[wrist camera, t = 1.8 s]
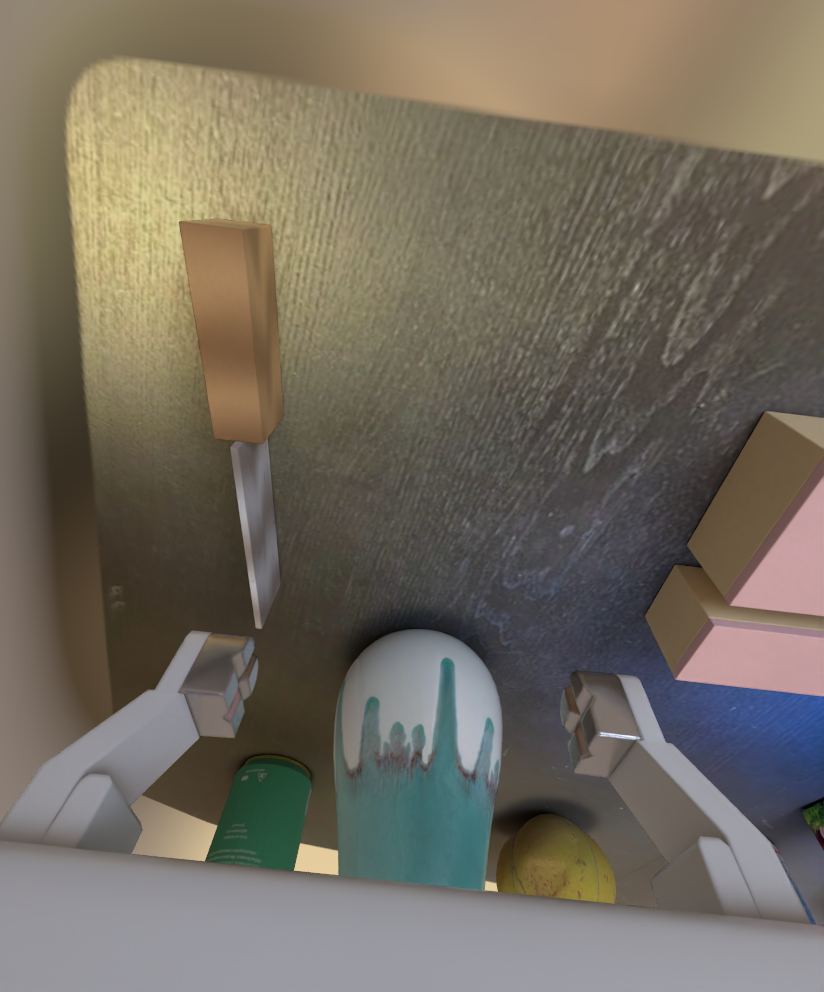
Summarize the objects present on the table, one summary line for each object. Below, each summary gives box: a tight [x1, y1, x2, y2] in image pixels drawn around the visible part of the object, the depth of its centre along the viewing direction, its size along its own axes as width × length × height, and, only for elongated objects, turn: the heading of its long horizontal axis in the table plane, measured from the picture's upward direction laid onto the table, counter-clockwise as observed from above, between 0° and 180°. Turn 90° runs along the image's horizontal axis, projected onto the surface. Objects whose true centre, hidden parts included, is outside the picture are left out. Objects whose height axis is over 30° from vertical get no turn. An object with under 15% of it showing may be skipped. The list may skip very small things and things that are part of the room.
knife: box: [179, 219, 284, 629], centre depth 24 cm, size 22×2×4 cm, turn 174°
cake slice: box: [645, 565, 824, 696], centre depth 28 cm, size 5×10×5 cm, turn 84°
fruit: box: [496, 813, 616, 904], centre depth 46 cm, size 11×12×10 cm
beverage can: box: [205, 755, 312, 871], centre depth 42 cm, size 8×8×12 cm
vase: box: [333, 629, 503, 890], centre depth 28 cm, size 12×12×18 cm
